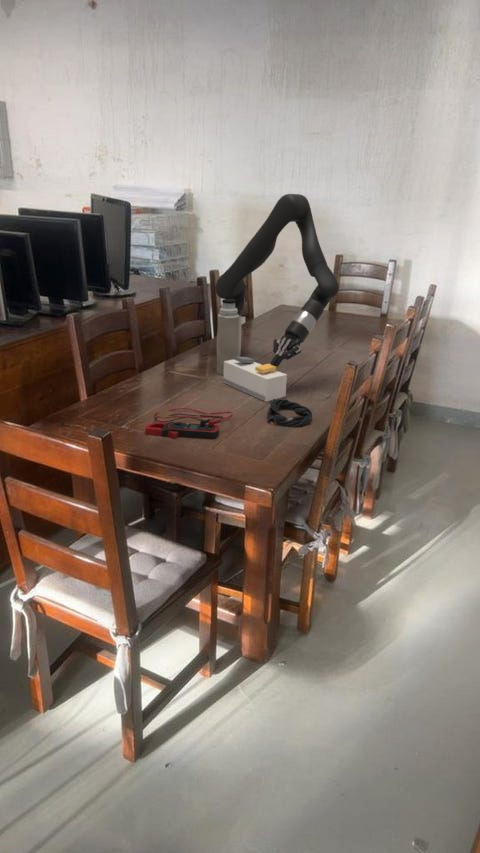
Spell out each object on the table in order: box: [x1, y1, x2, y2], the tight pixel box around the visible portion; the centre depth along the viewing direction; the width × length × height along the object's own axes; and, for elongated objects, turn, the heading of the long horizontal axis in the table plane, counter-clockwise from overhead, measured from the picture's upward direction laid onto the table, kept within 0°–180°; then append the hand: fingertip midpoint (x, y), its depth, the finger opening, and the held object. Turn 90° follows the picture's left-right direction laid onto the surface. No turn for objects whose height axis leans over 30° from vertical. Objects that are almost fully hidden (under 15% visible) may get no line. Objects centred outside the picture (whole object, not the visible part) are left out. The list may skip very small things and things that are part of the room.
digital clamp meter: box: [144, 407, 234, 440], centre depth 180 cm, size 23×4×25 cm
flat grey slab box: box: [234, 356, 255, 364], centre depth 211 cm, size 4×6×2 cm, turn 128°
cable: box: [266, 398, 313, 428], centre depth 187 cm, size 17×14×4 cm
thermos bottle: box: [216, 299, 239, 376], centre depth 222 cm, size 8×8×28 cm
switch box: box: [222, 359, 288, 402], centre depth 209 cm, size 24×9×8 cm, turn 38°
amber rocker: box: [255, 363, 277, 373], centre depth 203 cm, size 4×6×2 cm, turn 128°
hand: (273, 365), depth 204 cm, fingers closed
